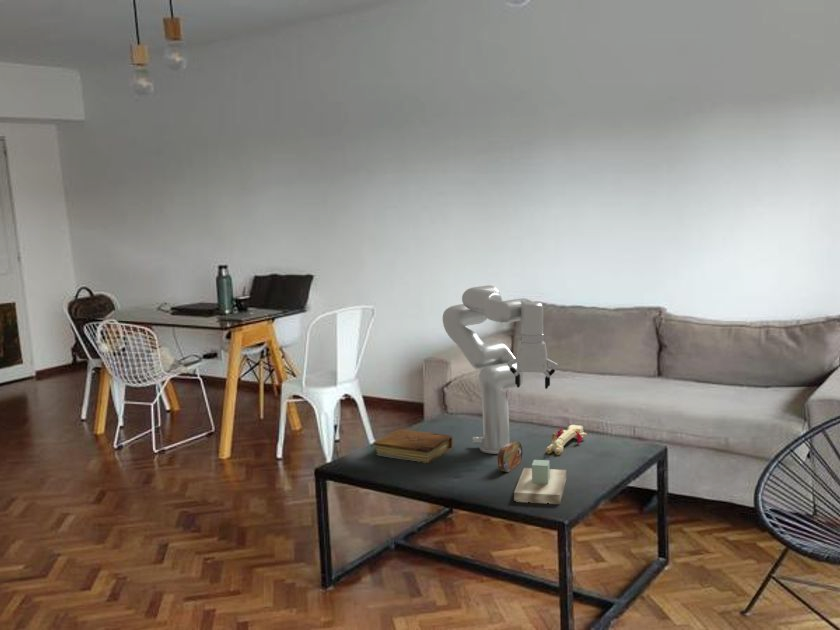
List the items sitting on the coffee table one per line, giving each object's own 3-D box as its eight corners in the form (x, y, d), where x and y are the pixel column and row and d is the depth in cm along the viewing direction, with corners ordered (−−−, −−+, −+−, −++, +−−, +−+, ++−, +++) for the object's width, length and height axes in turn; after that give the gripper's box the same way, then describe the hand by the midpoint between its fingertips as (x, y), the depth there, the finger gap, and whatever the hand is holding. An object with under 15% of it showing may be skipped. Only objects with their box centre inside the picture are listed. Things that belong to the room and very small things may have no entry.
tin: (504, 475, 276) (503, 451, 274) (496, 474, 277) (495, 450, 276) (523, 461, 288) (522, 438, 287) (515, 460, 290) (514, 437, 288)
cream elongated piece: (566, 460, 292) (592, 435, 312) (564, 437, 290) (591, 413, 310) (540, 456, 297) (567, 431, 317) (539, 433, 295) (566, 410, 315)
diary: (452, 449, 307) (452, 434, 306) (428, 465, 291) (428, 450, 290) (400, 442, 318) (399, 427, 317) (374, 457, 302) (373, 442, 301)
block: (532, 483, 259) (531, 465, 258) (534, 477, 264) (533, 459, 263) (548, 484, 258) (547, 465, 257) (549, 478, 262) (549, 460, 261)
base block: (514, 501, 253) (513, 492, 252) (524, 476, 273) (524, 467, 273) (559, 504, 249) (559, 494, 248) (566, 478, 270) (566, 469, 269)
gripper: (505, 340, 276) (505, 389, 279) (556, 341, 271) (556, 391, 274) (508, 335, 283) (509, 383, 286) (559, 336, 278) (559, 385, 281)
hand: (532, 387), depth 280 cm, fingers open, 9 cm apart
